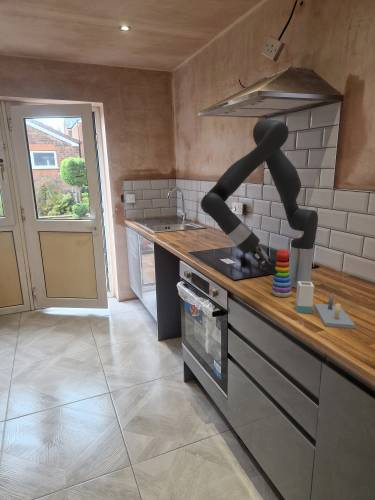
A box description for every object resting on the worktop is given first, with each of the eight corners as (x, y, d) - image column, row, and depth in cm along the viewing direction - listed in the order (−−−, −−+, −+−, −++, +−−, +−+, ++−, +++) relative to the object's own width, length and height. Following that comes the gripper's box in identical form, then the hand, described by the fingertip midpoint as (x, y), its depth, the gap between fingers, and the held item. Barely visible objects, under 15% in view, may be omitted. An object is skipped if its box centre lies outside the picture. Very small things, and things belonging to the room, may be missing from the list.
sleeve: (295, 307, 119) (297, 281, 116) (308, 308, 118) (311, 281, 116) (297, 312, 114) (299, 285, 112) (311, 313, 113) (314, 286, 111)
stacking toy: (287, 290, 135) (290, 247, 131) (294, 297, 127) (298, 251, 123) (268, 290, 135) (271, 247, 131) (274, 298, 127) (277, 251, 123)
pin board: (313, 306, 119) (315, 290, 118) (339, 308, 118) (341, 292, 116) (324, 326, 104) (326, 308, 102) (354, 328, 102) (357, 310, 101)
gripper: (251, 234, 106) (285, 269, 107) (250, 227, 119) (280, 258, 120) (234, 249, 108) (267, 283, 109) (235, 240, 121) (265, 271, 122)
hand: (274, 270), depth 114 cm, fingers open, 8 cm apart
